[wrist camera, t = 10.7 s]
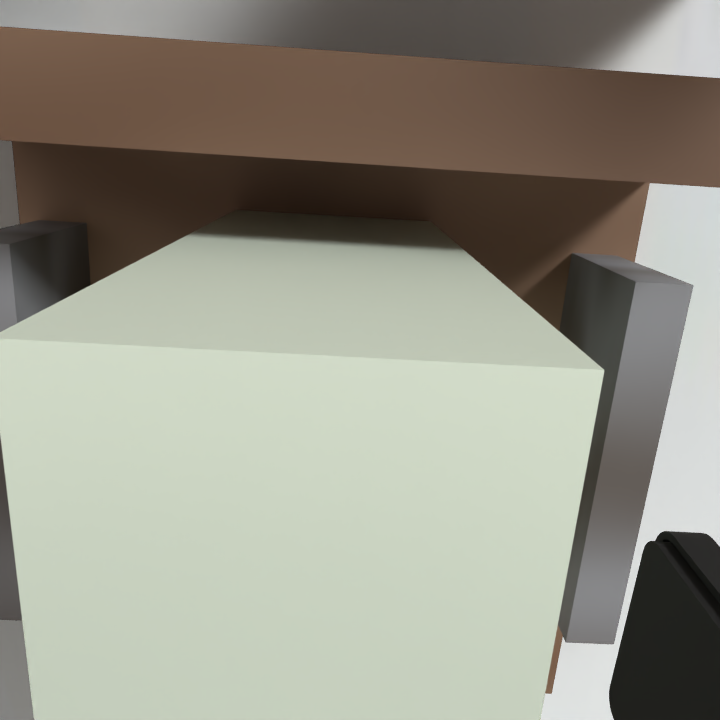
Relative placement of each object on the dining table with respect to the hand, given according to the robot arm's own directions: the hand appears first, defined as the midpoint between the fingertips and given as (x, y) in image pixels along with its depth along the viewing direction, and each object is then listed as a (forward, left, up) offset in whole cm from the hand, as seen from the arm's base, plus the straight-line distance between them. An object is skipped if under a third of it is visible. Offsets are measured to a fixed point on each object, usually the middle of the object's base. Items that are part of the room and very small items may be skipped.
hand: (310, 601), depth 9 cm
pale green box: (+1, 0, -9) cm, 9 cm away
